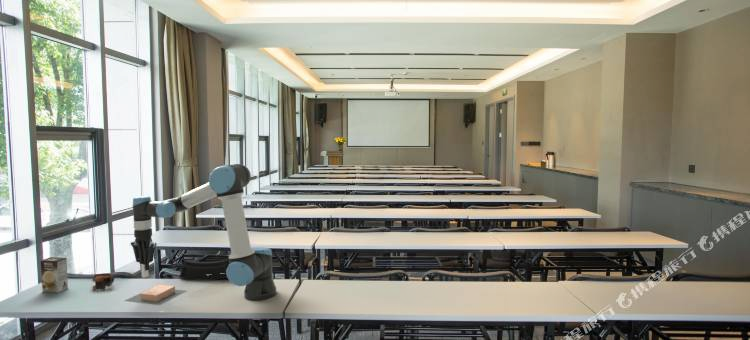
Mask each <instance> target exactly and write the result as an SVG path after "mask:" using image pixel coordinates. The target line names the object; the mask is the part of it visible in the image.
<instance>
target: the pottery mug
mask: <svg viewBox="0 0 750 340" xmlns="http://www.w3.org/2000/svg"><path fill="white" fill-rule="evenodd" d="M91 281H92V282H93V283H95V285H93V286H92V291H98V290H99V291H100V290H101V291H102V290H106V288H109V287H111V286H112V285H113V283H114V282H115V277H114V276H112V274H111V273H98V274H94V276H93V279H92V280H91Z"/></svg>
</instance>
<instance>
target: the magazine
mask: <svg viewBox="0 0 750 340" xmlns="http://www.w3.org/2000/svg"><path fill="white" fill-rule="evenodd" d="M229 264H230V262H229V258H227V259H223V260H219V261H205V262H204V261H192V260H187V259H184V260H183V262H182V266H181V270H180V274H179V278H183V279H191V280H201V281H202V280H207V281H209V280H212V281H213V280H222V279H228V278H227V275H226V270H227V268H228V266H229ZM220 273H225V274H220ZM206 274H212V275H209V276H207V275H206Z"/></svg>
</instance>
